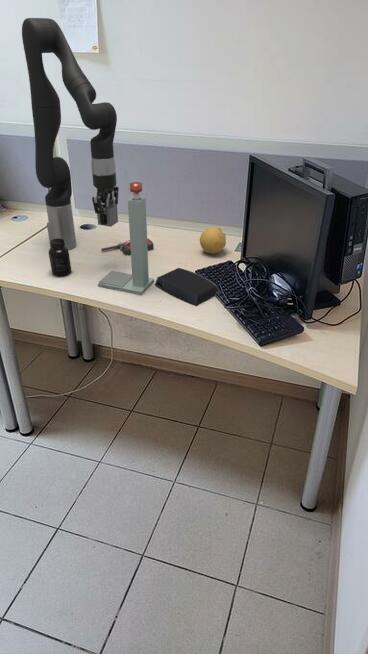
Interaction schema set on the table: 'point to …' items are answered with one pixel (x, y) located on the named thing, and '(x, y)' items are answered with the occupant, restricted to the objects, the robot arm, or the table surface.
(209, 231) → the stress ball
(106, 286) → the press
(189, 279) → the external hard drive
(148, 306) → the table surface
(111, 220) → the block
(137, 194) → the plunger
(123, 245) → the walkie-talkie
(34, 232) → the table surface
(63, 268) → the supplement bottle
